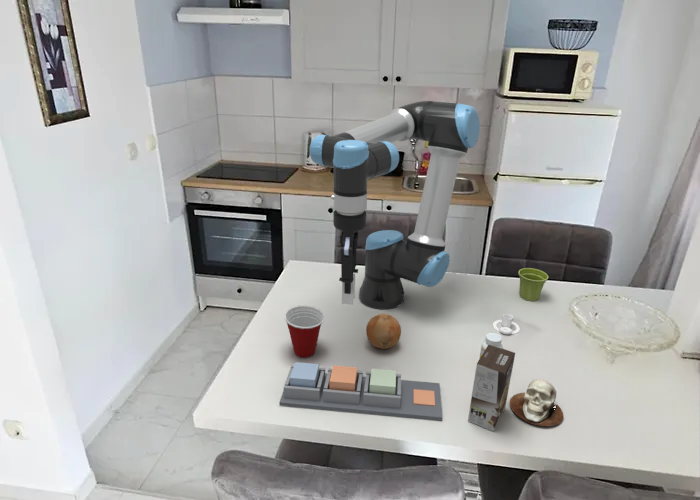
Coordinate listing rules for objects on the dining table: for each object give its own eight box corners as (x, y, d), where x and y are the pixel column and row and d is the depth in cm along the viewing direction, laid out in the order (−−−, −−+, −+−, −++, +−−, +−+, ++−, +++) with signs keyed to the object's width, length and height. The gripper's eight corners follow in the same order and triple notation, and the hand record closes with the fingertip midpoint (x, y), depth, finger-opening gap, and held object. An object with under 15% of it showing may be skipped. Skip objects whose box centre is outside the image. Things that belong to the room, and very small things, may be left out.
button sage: (395, 380, 119) (396, 370, 118) (394, 397, 114) (395, 387, 112) (371, 378, 120) (371, 368, 118) (369, 394, 114) (369, 384, 113)
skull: (559, 435, 106) (533, 395, 107) (520, 441, 113) (496, 404, 114) (575, 404, 115) (551, 367, 115) (538, 412, 122) (516, 377, 123)
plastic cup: (314, 368, 128) (314, 329, 123) (278, 358, 131) (276, 320, 127) (331, 345, 137) (331, 309, 132) (297, 337, 141) (295, 301, 136)
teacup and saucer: (508, 339, 142) (510, 327, 140) (485, 328, 147) (487, 316, 146) (524, 329, 147) (527, 317, 146) (502, 318, 153) (503, 307, 151)
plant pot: (527, 287, 171) (531, 265, 167) (549, 299, 163) (554, 276, 160) (508, 294, 166) (512, 271, 162) (531, 306, 159) (535, 283, 155)
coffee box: (494, 432, 108) (505, 374, 101) (466, 421, 111) (475, 363, 105) (506, 408, 115) (516, 352, 109) (479, 398, 118) (488, 343, 112)
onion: (393, 333, 143) (395, 304, 139) (404, 353, 134) (407, 322, 130) (361, 337, 141) (362, 308, 137) (371, 358, 132) (372, 327, 128)
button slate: (319, 374, 121) (319, 364, 120) (314, 390, 116) (314, 379, 114) (295, 372, 122) (295, 362, 120) (290, 387, 116) (289, 377, 115)
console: (439, 386, 122) (440, 373, 120) (441, 420, 111) (443, 407, 109) (290, 373, 126) (290, 360, 124) (279, 405, 115) (278, 392, 113)
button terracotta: (357, 377, 120) (357, 367, 119) (354, 393, 115) (354, 383, 113) (333, 375, 121) (333, 365, 119) (329, 391, 115) (329, 381, 114)
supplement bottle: (481, 373, 127) (485, 342, 123) (476, 360, 132) (480, 331, 128) (501, 373, 127) (506, 343, 123) (496, 361, 132) (501, 331, 128)
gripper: (338, 199, 118) (337, 284, 127) (328, 221, 104) (328, 315, 113) (368, 200, 117) (366, 286, 126) (363, 222, 103) (360, 317, 113)
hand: (348, 300), depth 120 cm, fingers open, 2 cm apart
